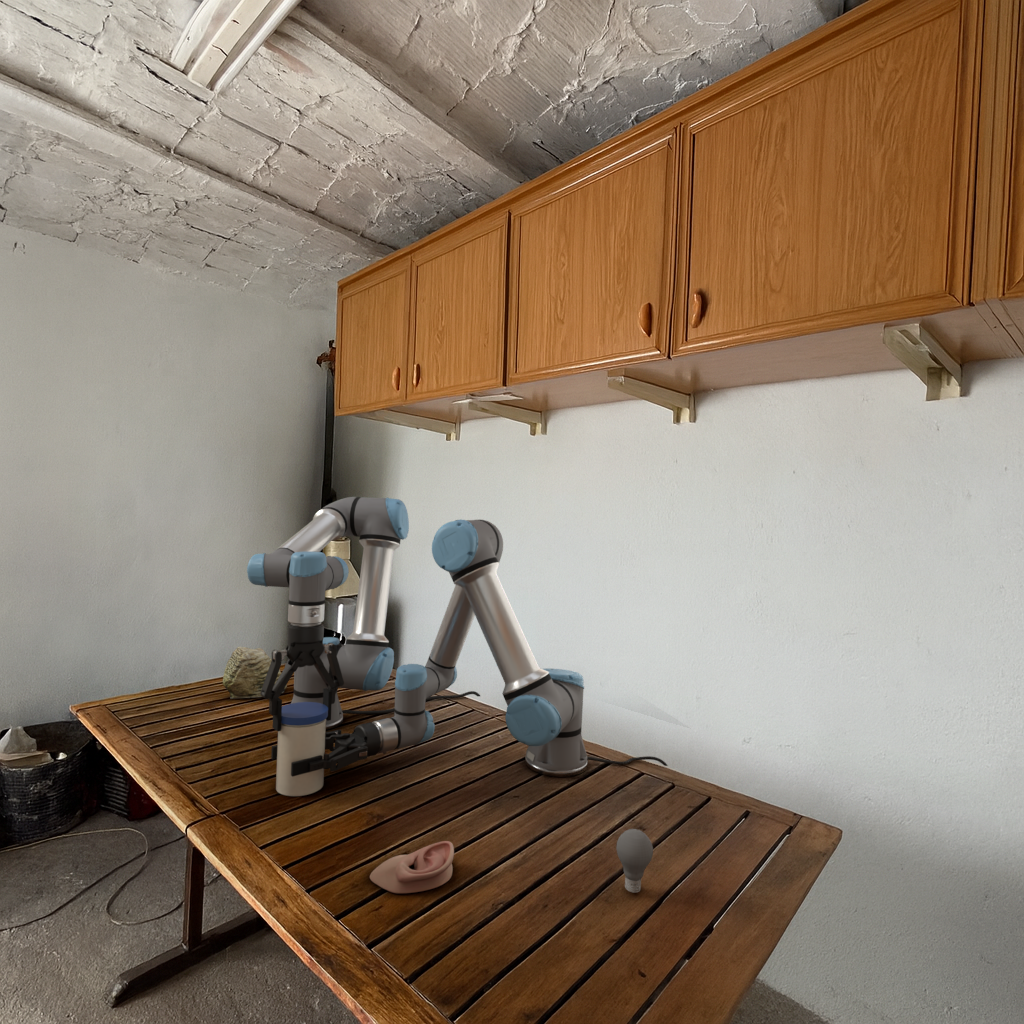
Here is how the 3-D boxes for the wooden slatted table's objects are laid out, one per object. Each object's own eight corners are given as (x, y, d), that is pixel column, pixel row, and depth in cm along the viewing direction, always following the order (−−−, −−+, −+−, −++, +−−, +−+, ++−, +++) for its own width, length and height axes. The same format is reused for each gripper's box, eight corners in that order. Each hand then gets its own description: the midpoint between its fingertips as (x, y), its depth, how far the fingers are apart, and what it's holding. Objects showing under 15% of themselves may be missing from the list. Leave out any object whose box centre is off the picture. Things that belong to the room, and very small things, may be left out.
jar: (311, 798, 133) (314, 723, 133) (267, 793, 134) (269, 719, 134) (330, 778, 143) (333, 708, 142) (289, 773, 144) (291, 704, 144)
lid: (269, 724, 133) (269, 717, 133) (285, 708, 143) (285, 701, 143) (320, 726, 133) (321, 718, 133) (332, 709, 144) (333, 702, 144)
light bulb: (610, 879, 108) (613, 822, 108) (644, 879, 109) (647, 822, 109) (619, 902, 102) (622, 840, 102) (655, 901, 103) (658, 840, 103)
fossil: (218, 695, 195) (220, 647, 195) (278, 685, 208) (279, 640, 207) (228, 703, 189) (230, 653, 188) (289, 692, 201) (290, 645, 201)
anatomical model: (362, 863, 103) (389, 828, 114) (361, 887, 103) (389, 850, 114) (440, 876, 100) (460, 839, 112) (439, 901, 101) (459, 861, 112)
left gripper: (258, 631, 127) (254, 740, 128) (362, 621, 143) (358, 718, 143) (245, 625, 133) (241, 729, 133) (346, 615, 148) (343, 709, 149)
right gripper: (398, 770, 142) (303, 798, 127) (350, 739, 159) (261, 760, 144) (400, 737, 142) (304, 761, 127) (352, 709, 159) (262, 727, 144)
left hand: (302, 723), depth 138 cm, fingers closed on lid, 10 cm apart
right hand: (281, 760), depth 135 cm, fingers closed on jar, 10 cm apart
